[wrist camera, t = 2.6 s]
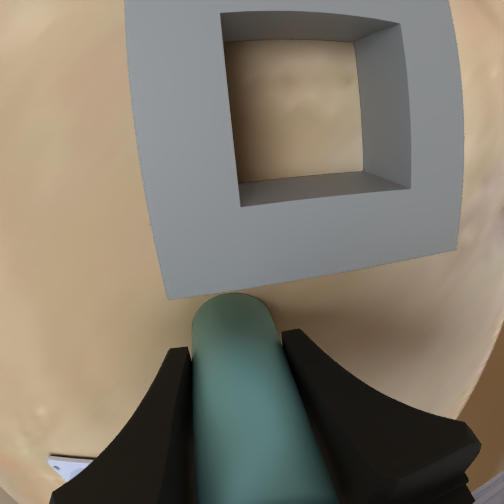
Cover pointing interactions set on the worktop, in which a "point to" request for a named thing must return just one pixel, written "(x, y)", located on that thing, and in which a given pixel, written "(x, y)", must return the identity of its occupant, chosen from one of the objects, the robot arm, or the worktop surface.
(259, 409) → the peg
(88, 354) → the worktop surface
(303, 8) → the socket block
